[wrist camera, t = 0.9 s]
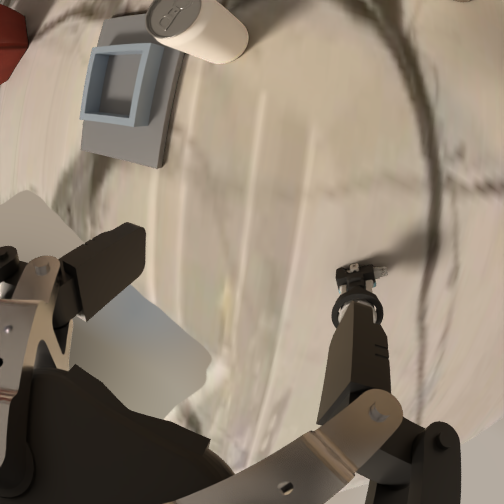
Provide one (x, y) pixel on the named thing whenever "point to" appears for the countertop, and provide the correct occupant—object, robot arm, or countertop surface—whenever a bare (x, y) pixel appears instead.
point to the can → (197, 29)
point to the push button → (358, 290)
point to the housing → (129, 93)
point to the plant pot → (11, 40)
